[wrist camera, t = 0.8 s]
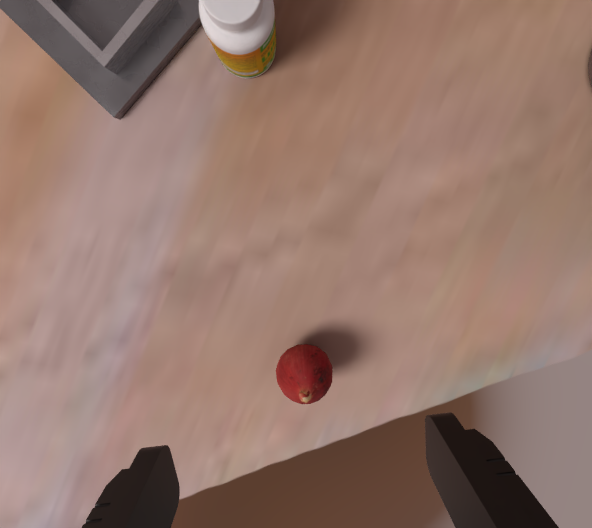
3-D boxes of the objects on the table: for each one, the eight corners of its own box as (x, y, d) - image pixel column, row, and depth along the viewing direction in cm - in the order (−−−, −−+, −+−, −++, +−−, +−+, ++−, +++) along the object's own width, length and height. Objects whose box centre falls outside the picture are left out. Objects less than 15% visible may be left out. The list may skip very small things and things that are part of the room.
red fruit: (315, 323, 37) (323, 361, 29) (335, 364, 39) (348, 411, 31) (268, 344, 38) (264, 387, 30) (290, 384, 39) (292, 435, 31)
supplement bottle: (273, 83, 31) (269, 42, 22) (215, 75, 31) (185, 29, 21) (279, 17, 30) (277, -57, 20) (218, 8, 29) (188, -73, 20)
